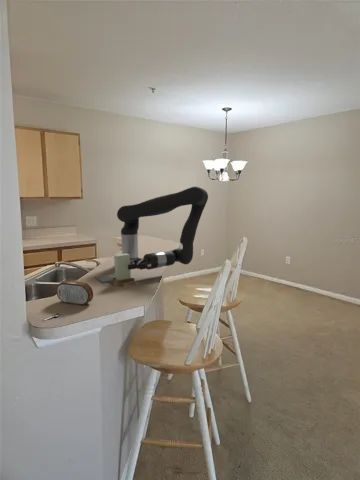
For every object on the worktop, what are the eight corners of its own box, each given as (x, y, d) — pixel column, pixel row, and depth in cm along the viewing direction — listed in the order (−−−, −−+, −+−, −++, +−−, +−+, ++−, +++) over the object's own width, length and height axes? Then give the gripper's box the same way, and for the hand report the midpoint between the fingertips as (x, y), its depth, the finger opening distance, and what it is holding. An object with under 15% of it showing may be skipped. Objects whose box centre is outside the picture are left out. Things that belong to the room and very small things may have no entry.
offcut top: (121, 285, 140) (121, 283, 140) (132, 283, 143) (132, 281, 143) (125, 287, 138) (125, 284, 137) (135, 284, 141) (135, 282, 141)
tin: (94, 304, 118) (93, 282, 117) (89, 307, 115) (88, 284, 114) (61, 299, 123) (59, 279, 122) (55, 302, 120) (54, 281, 119)
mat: (95, 278, 153) (95, 277, 152) (122, 273, 160) (122, 272, 160) (102, 283, 144) (102, 281, 144) (130, 278, 152) (130, 276, 152)
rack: (109, 282, 145) (109, 278, 145) (127, 279, 150) (127, 275, 150) (116, 286, 139) (115, 281, 139) (134, 282, 144) (134, 278, 144)
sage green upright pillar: (115, 282, 145) (114, 254, 143) (127, 280, 148) (126, 253, 146) (118, 284, 142) (117, 256, 140) (130, 282, 145) (129, 254, 143)
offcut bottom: (120, 287, 140) (120, 285, 140) (133, 285, 144) (132, 283, 143) (124, 289, 137) (124, 287, 137) (136, 287, 141) (136, 284, 141)
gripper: (147, 250, 159) (117, 254, 149) (162, 255, 147) (130, 260, 138) (148, 265, 160) (118, 270, 151) (162, 271, 148) (131, 276, 139)
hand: (124, 265), depth 144 cm, fingers open, 8 cm apart
